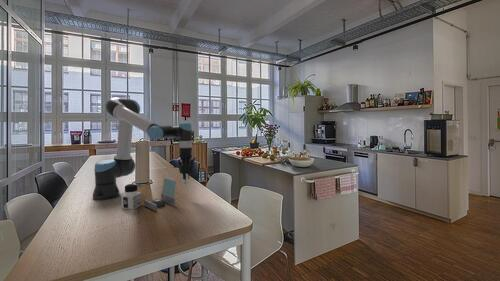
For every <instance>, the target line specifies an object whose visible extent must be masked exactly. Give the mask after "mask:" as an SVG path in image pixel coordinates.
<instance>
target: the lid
mask: <svg viewBox="0 0 500 281" xmlns="http://www.w3.org/2000/svg"><path fill="white" fill-rule="evenodd" d="M176 185H177V180H174V179H171V178H168V177H164V178H163V185H162V193H161V194H162V195H163V196H165V197H168V198H170V199H173V198H175V193H176V187H177V186H176ZM162 195H161V196H162Z"/></svg>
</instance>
